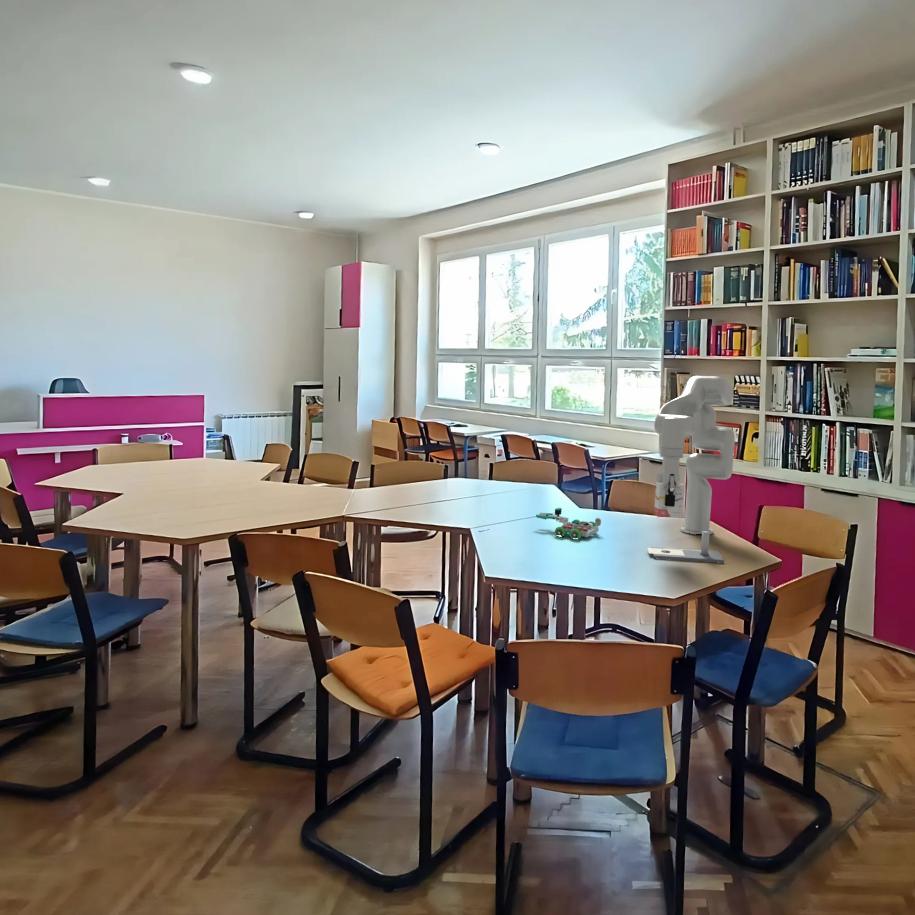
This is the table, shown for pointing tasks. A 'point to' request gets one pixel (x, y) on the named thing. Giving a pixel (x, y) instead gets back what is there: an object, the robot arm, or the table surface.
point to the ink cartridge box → (660, 507)
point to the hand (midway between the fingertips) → (668, 504)
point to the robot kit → (572, 525)
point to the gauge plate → (688, 552)
